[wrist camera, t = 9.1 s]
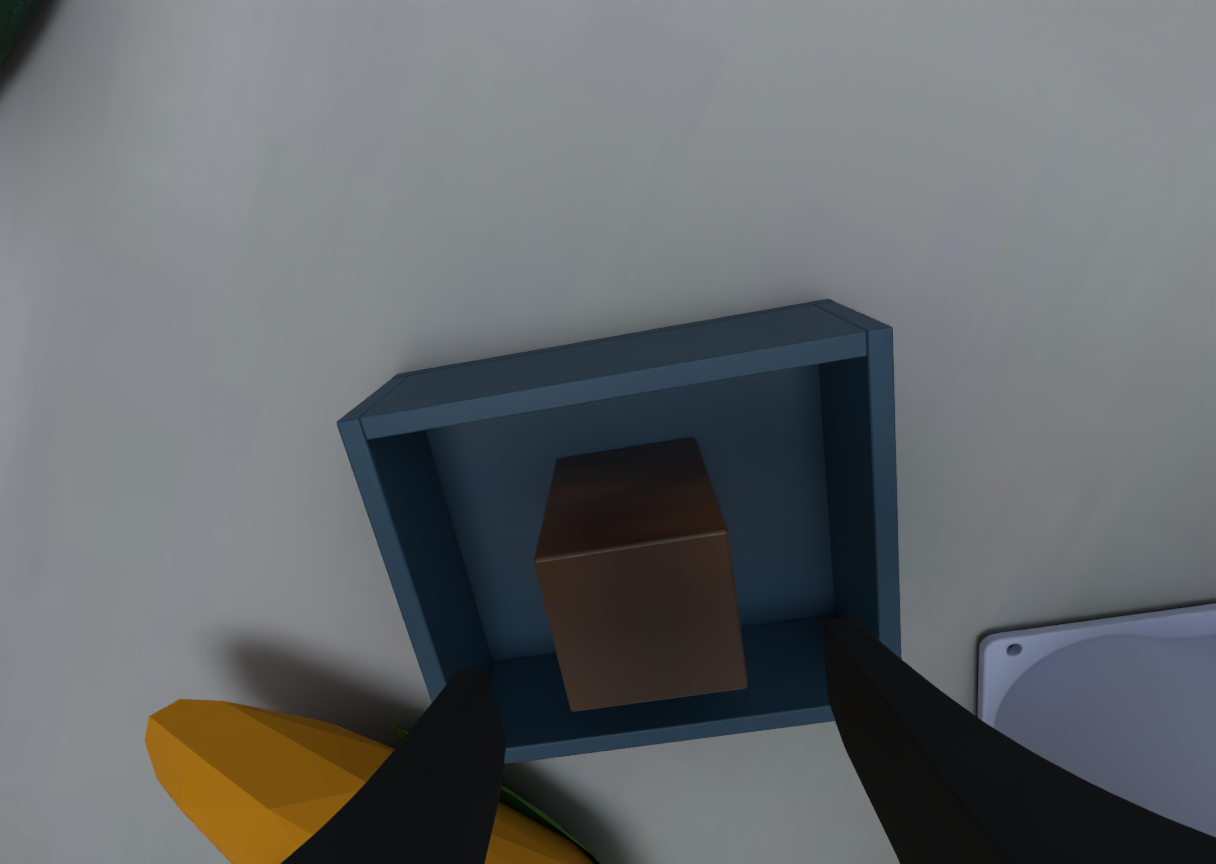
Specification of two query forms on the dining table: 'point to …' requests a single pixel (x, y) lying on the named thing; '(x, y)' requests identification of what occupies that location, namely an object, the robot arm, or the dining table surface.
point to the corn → (300, 783)
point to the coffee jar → (13, 23)
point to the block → (639, 578)
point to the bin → (628, 417)
